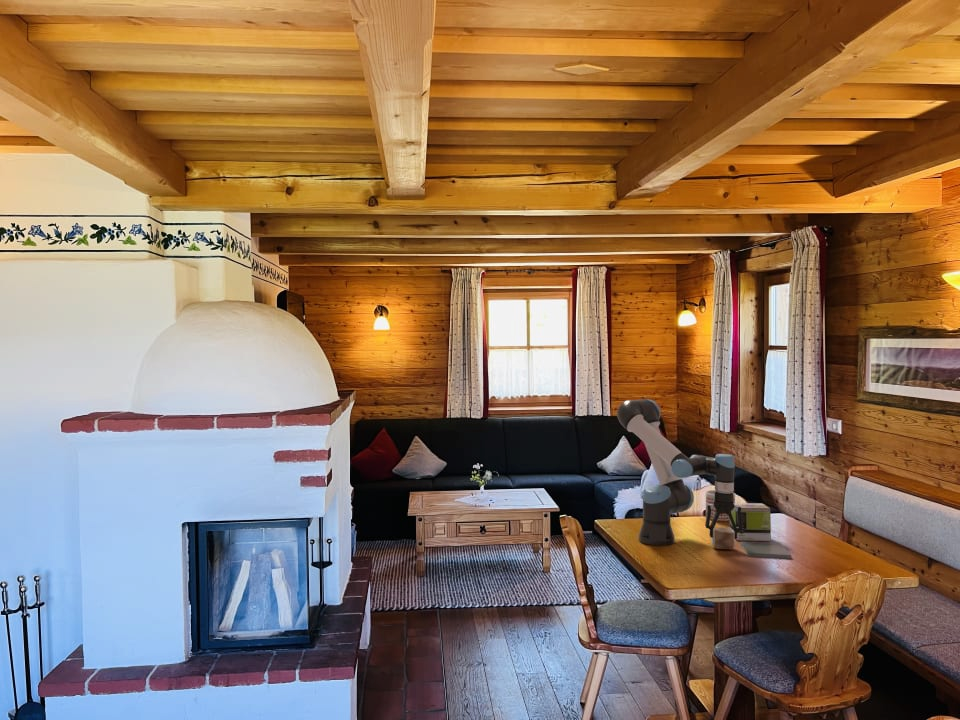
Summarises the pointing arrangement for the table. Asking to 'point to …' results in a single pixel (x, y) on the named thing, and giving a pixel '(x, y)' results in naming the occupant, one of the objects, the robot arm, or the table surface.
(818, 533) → the table surface
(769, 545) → the slate board
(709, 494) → the planter
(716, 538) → the walnut cube
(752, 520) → the tea box
